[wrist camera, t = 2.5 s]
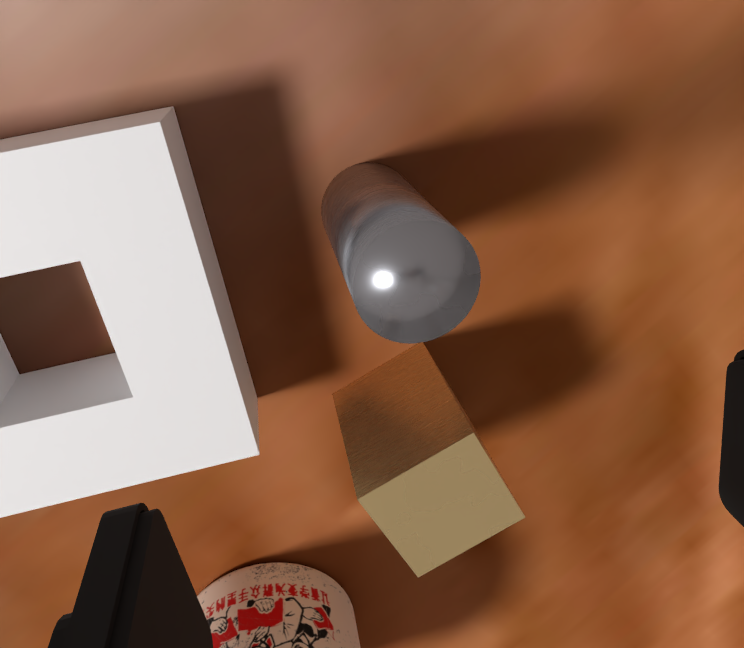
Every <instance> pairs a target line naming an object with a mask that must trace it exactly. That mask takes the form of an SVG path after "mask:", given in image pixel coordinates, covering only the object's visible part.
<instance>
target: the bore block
mask: <svg viewBox="0 0 744 648" xmlns="http://www.w3.org/2000/svg"><path fill="white" fill-rule="evenodd" d="M77 261H81V264H82V266H83V269H84V271H85V274H86V277H87V279H88V282H89V284H90V287H91V290H92V292H93V295H94V297H95V300H96V302H97V305H98V308H99V310H100V313H101V315H102V318H103V321H104V323H105V326H106V328H107V331H108V334H109V336H110V339H111V341H112V344H113V346H114V349H115V352H116V353H112V354H108V355H103V356H99V357H94V358H90V359H85V360H81V361H77V362H72V363H68V364H63V365H59V366H54V367H50V368H45V369H41V370H36V371H32V372H28V373H23V374H19V372H18V370H17V368H16V366H15V364H14V362H13V359H12V357H11V355H10V353H9V351H8V349H7V347H6V345H5V342H4V340H3V338H2V336H1V334H0V518H1V517H5V516H9V515H13V514H17V513H21V512H25V511H29V510H34V509H38V508H42V507H46V506H50V505H54V504H58V503H62V502H66V501H71V500H75V499H79V498H83V497H87V496H91V495H95V494H99V493H103V492H108V491H112V490H116V489H120V488H124V487H128V486H132V485H136V484H141V483H145V482H149V481H153V480H157V479H161V478H165V477H169V476H173V475H178V474H182V473H186V472H190V471H194V470H198V469H202V468H206V467H211V466H215V465H219V464H223V463H227V462H231V461H235V460H239V459H243V458H248V457H252V456H256V455H259V429H258V400H257V395H256V392H255V388H254V385H253V381H252V378H251V374H250V371H249V368H248V364H247V361H246V357H245V354H244V350H243V347H242V343H241V340H240V336H239V333H238V329H237V326H236V322H235V319H234V315H233V312H232V308H231V305H230V301H229V298H228V294H227V291H226V287H225V284H224V281H223V277H222V274H221V270H220V267H219V263H218V260H217V256H216V253H215V249H214V246H213V242H212V239H211V235H210V232H209V228H208V225H207V221H206V218H205V214H204V211H203V207H202V204H201V200H200V197H199V193H198V190H197V187H196V183H195V180H194V176H193V173H192V169H191V166H190V162H189V159H188V155H187V152H186V148H185V145H184V141H183V138H182V134H181V131H180V127H179V124H178V120H177V117H176V113H175V110H174V106H171V107H166V108H161V109H156V110H150V111H145V112H140V113H135V114H130V115H125V116H119V117H114V118H109V119H104V120H99V121H93V122H88V123H83V124H78V125H73V126H68V127H62V128H57V129H52V130H47V131H42V132H37V133H31V134H26V135H21V136H16V137H11V138H6V139H0V278H1V277H6V276H11V275H15V274H20V273H25V272H30V271H34V270H39V269H44V268H49V267H53V266H58V265H63V264H67V263H72V262H77Z"/></svg>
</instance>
